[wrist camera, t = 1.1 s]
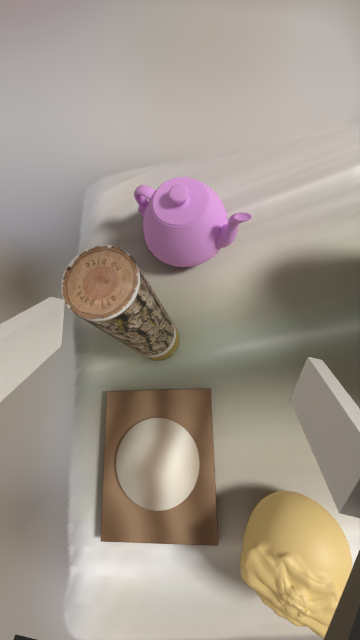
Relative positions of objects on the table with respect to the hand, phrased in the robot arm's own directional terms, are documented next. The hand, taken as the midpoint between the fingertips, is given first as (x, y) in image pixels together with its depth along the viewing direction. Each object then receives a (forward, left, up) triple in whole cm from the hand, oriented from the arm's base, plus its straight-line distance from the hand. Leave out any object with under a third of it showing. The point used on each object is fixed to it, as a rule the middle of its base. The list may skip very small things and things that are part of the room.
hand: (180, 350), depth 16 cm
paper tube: (+8, -7, -32) cm, 33 cm away
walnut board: (+8, +11, -31) cm, 34 cm away
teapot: (+2, -25, -32) cm, 41 cm away
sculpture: (-9, +20, -32) cm, 38 cm away
